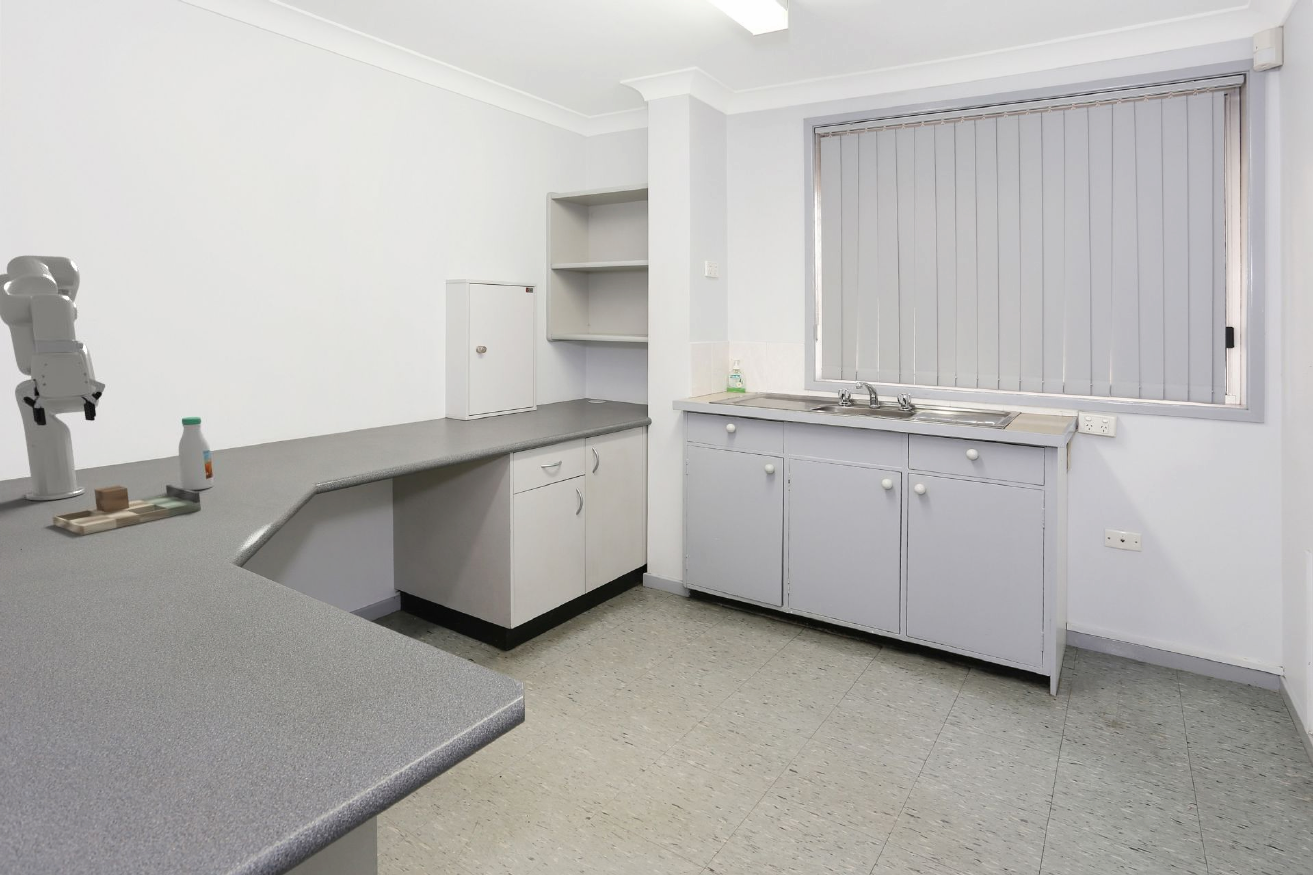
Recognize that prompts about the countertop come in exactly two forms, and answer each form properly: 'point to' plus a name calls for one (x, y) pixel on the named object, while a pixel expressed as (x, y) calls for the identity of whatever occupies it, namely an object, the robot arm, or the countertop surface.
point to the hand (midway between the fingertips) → (66, 422)
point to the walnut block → (111, 498)
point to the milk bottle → (194, 456)
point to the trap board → (131, 512)
